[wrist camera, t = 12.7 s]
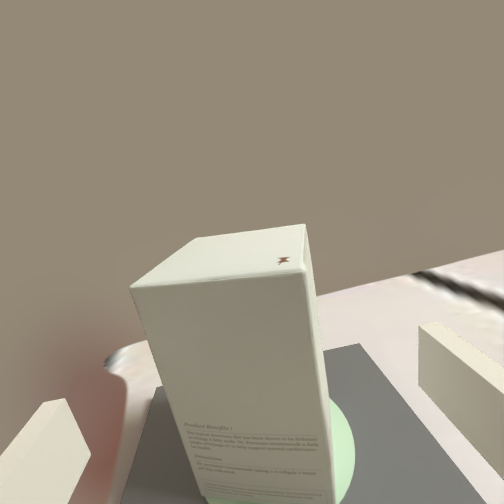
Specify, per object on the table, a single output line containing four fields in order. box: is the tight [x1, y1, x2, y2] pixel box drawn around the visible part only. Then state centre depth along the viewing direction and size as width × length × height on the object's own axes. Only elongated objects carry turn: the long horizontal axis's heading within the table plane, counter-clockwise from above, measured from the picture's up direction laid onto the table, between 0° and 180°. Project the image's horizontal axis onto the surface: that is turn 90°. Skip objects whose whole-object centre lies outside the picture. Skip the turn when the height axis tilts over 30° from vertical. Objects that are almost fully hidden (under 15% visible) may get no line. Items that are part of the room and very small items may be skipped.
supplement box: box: [129, 224, 336, 504], centre depth 15 cm, size 7×7×13 cm
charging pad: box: [120, 343, 486, 504], centre depth 17 cm, size 18×14×1 cm
